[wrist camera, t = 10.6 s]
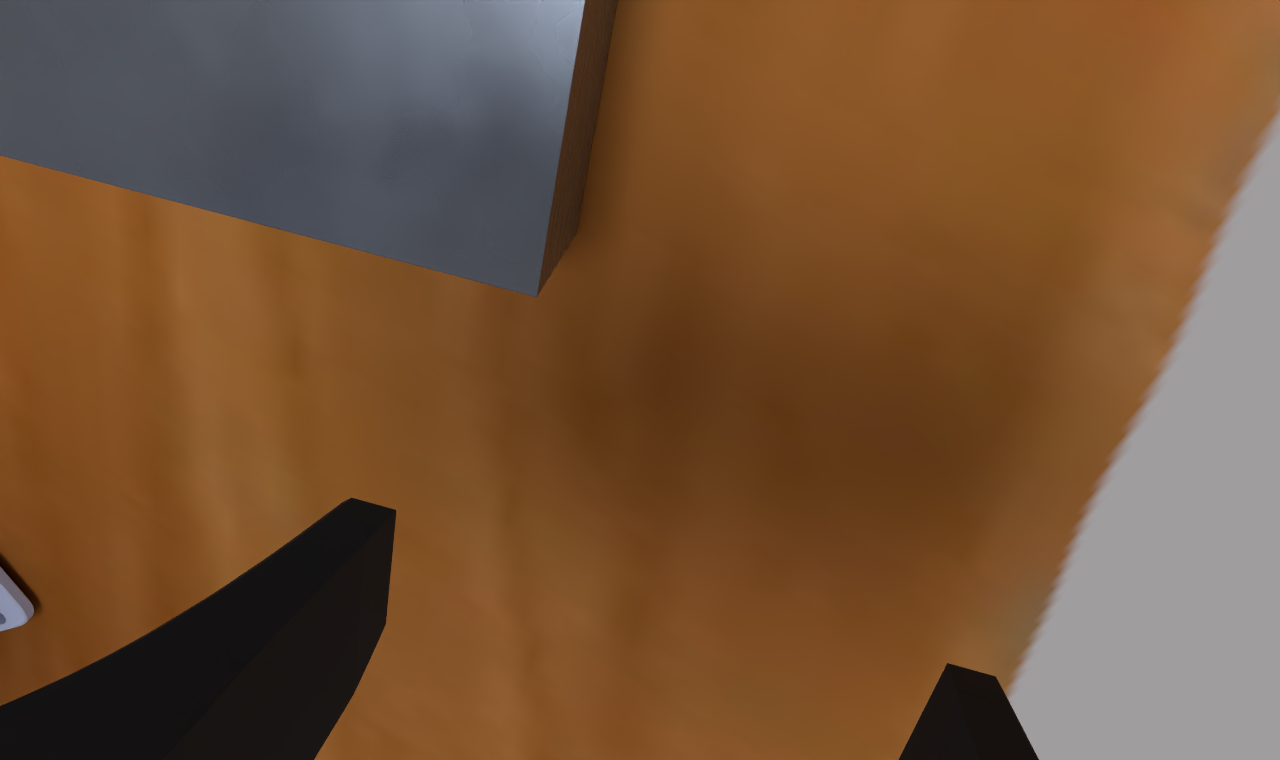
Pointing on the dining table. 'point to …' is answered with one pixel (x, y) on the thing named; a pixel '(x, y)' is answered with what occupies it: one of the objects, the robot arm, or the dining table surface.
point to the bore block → (326, 116)
